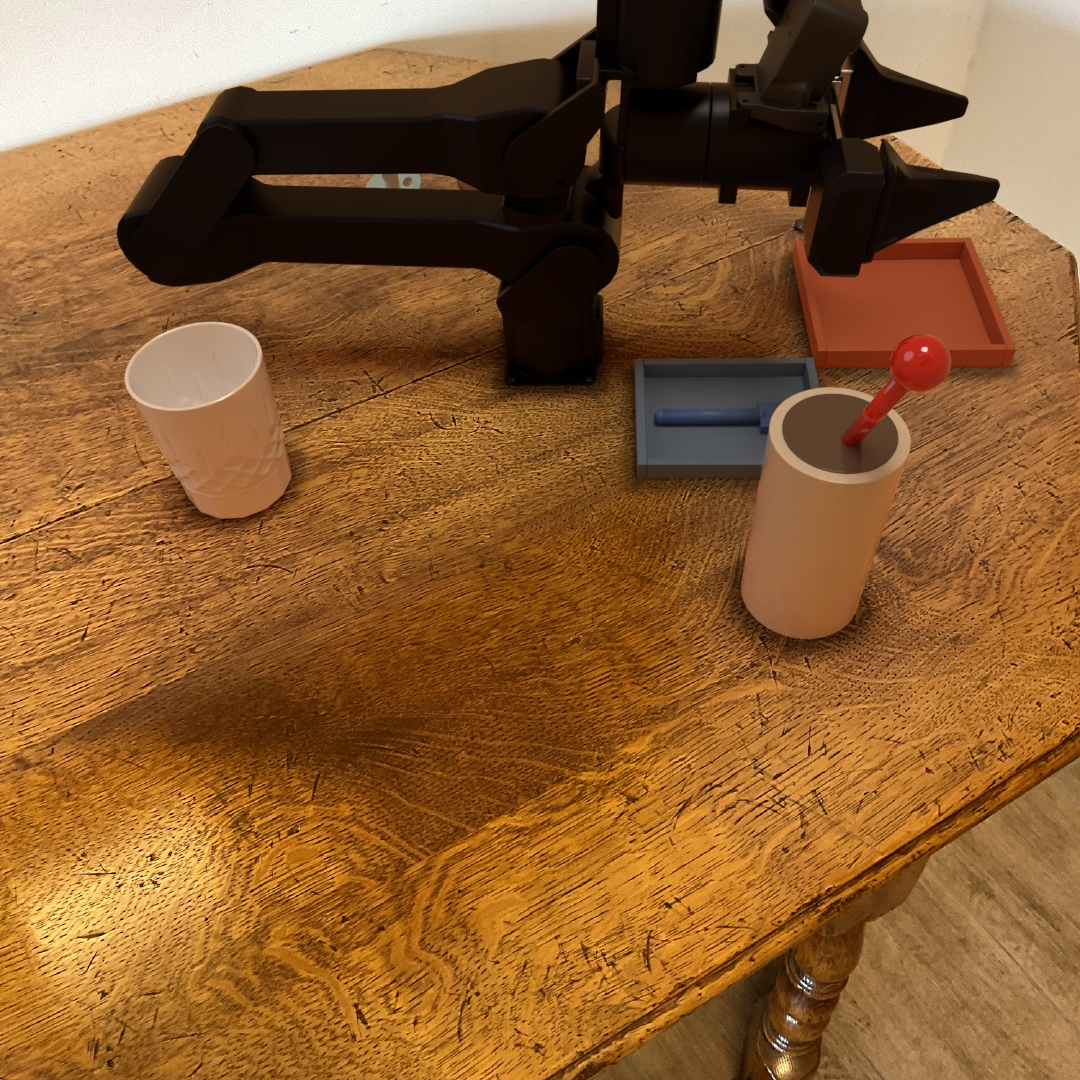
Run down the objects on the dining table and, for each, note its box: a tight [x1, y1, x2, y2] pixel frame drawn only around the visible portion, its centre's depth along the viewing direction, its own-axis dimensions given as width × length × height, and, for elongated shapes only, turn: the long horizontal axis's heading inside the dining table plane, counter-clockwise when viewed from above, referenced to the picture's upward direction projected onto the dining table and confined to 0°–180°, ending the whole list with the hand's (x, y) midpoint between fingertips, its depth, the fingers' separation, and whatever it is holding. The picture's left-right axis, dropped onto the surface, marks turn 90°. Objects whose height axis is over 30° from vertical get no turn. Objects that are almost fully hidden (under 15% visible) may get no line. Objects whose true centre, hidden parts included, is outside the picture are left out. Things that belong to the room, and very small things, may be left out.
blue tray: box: [633, 357, 821, 479], centre depth 66 cm, size 12×10×2 cm
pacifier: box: [365, 174, 422, 189], centre depth 83 cm, size 7×6×6 cm
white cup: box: [124, 321, 292, 520], centre depth 62 cm, size 8×8×10 cm
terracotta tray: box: [791, 237, 1017, 369], centre depth 73 cm, size 13×13×2 cm
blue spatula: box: [654, 402, 782, 434], centre depth 66 cm, size 10×2×1 cm, turn 87°
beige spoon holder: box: [740, 334, 952, 640], centre depth 49 cm, size 8×7×20 cm
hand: (981, 146), depth 57 cm, fingers open, 9 cm apart
